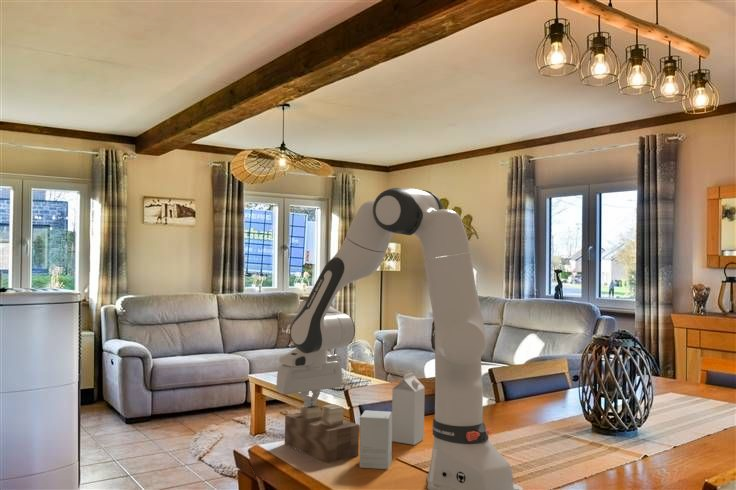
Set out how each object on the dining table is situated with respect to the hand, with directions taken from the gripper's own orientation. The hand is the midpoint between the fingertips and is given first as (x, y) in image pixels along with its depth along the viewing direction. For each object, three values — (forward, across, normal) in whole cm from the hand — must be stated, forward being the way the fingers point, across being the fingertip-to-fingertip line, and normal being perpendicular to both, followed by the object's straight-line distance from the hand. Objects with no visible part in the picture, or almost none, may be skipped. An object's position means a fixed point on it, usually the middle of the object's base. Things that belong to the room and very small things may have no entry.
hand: (309, 406), depth 169 cm
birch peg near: (+6, 0, +10) cm, 12 cm away
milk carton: (+10, -25, +13) cm, 30 cm away
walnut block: (+10, 0, +5) cm, 12 cm away
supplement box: (+11, -4, +23) cm, 26 cm away
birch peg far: (+8, 0, 0) cm, 8 cm away
